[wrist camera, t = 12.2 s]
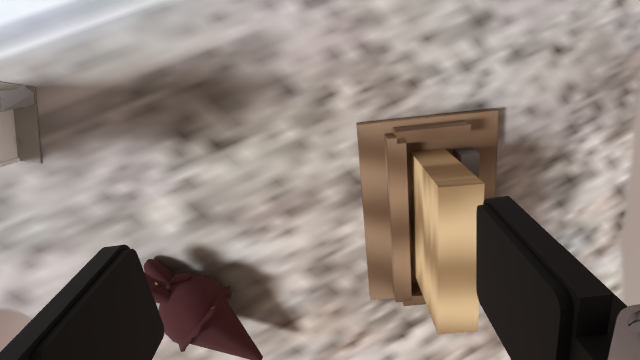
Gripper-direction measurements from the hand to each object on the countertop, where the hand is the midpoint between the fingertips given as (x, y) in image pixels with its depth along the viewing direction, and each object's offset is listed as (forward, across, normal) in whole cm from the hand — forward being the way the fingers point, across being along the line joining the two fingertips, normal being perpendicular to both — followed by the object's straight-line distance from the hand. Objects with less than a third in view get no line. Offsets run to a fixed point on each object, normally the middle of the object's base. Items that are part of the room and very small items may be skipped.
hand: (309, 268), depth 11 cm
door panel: (+24, -9, +12) cm, 28 cm away
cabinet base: (+25, -9, +12) cm, 29 cm away
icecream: (+25, +14, +18) cm, 34 cm away
